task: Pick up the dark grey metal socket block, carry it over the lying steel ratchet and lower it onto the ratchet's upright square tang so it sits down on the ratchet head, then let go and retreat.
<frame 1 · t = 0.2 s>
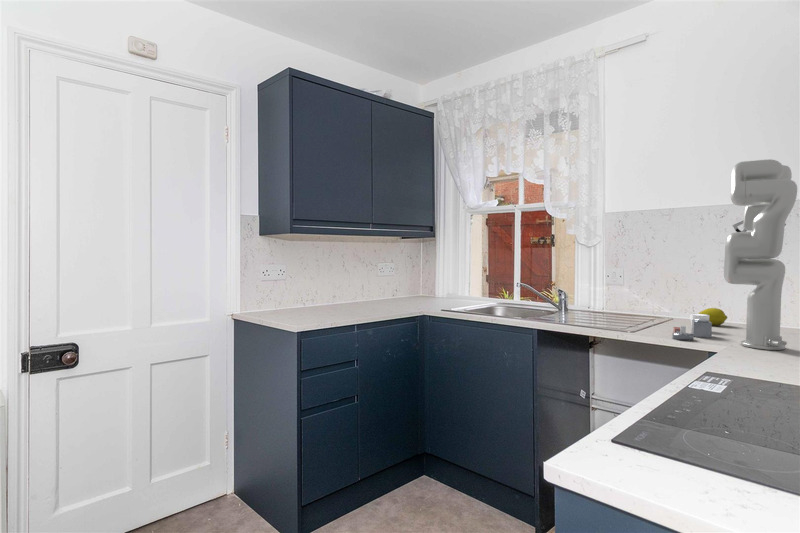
hand: (758, 244, 190), 37 cm above the countertop, tool pointing down, fingers open, 9 cm apart
lemon: (712, 325, 211), on the countertop
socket: (701, 336, 185), on the countertop
shot glass: (699, 331, 197), on the countertop
ratchet: (682, 339, 179), on the countertop
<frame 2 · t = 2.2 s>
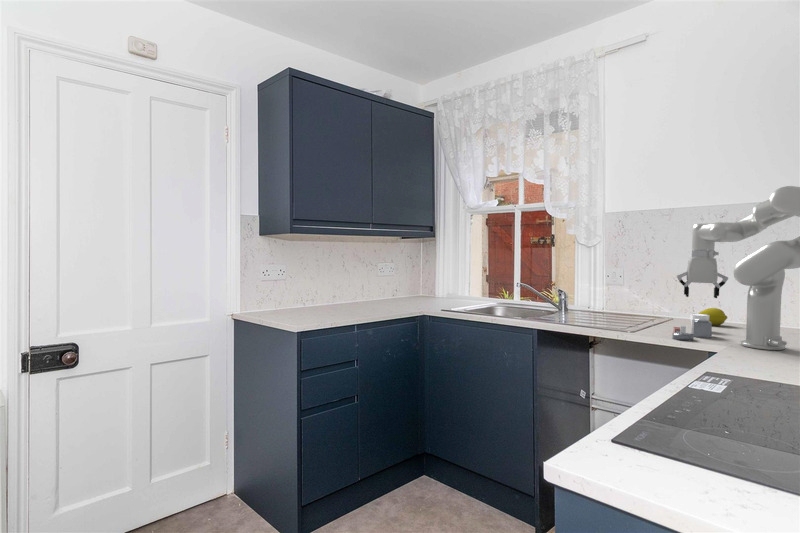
hand: (701, 297, 185), 16 cm above the countertop, tool pointing down, fingers open, 9 cm apart
nothing on the countertop moved.
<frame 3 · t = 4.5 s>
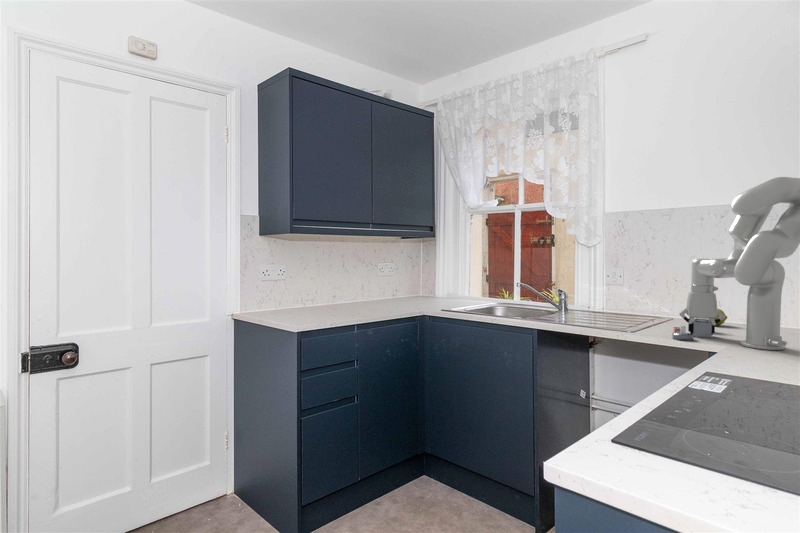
hand: (701, 333, 185), 1 cm above the countertop, tool pointing down, fingers closed on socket, 6 cm apart
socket: (701, 336, 185), on the countertop, touching gripper
everything else where it was.
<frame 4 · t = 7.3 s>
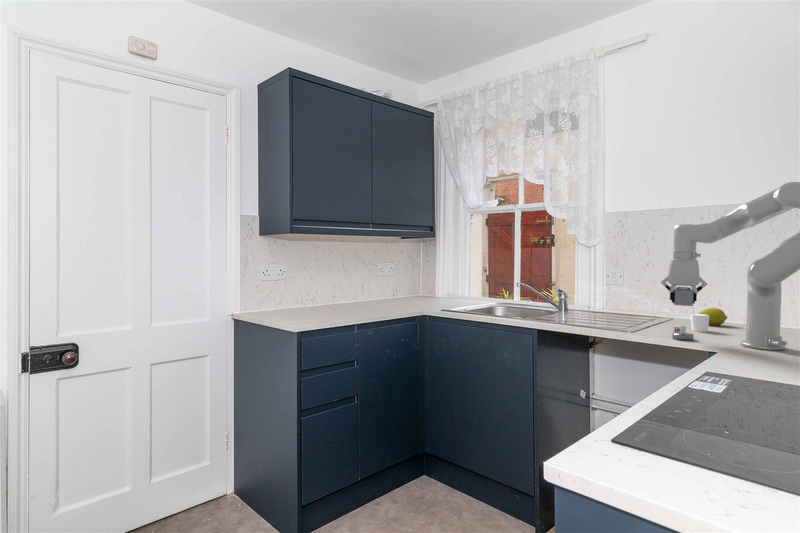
hand: (682, 302, 179), 14 cm above the countertop, tool pointing down, fingers closed on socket, 6 cm apart
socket: (682, 304, 179), point 13 cm above the countertop, touching gripper
everything else where it was.
when the fingers open (4 cm above the countertop, at t = 10.1 s): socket drops 1 cm, resting on ratchet.
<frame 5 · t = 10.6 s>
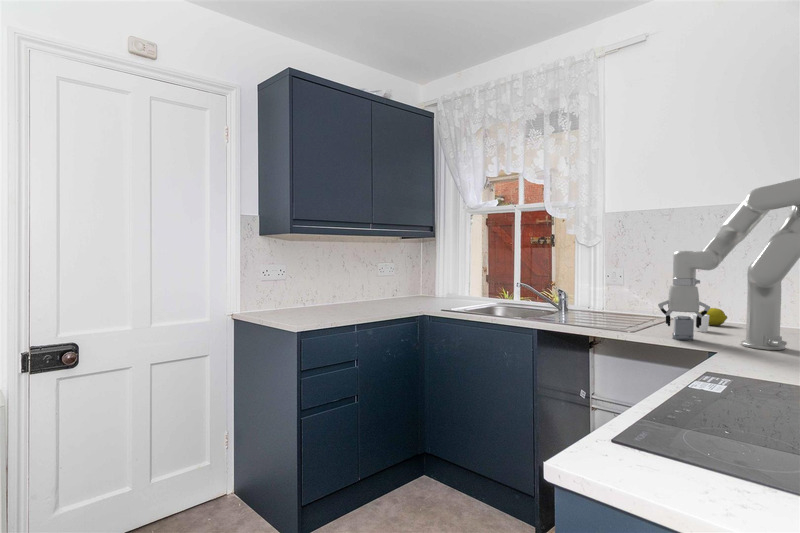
hand: (683, 326, 179), 5 cm above the countertop, tool pointing down, fingers open, 9 cm apart
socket: (683, 333, 179), point 2 cm above the countertop, touching ratchet
everything else where it was.
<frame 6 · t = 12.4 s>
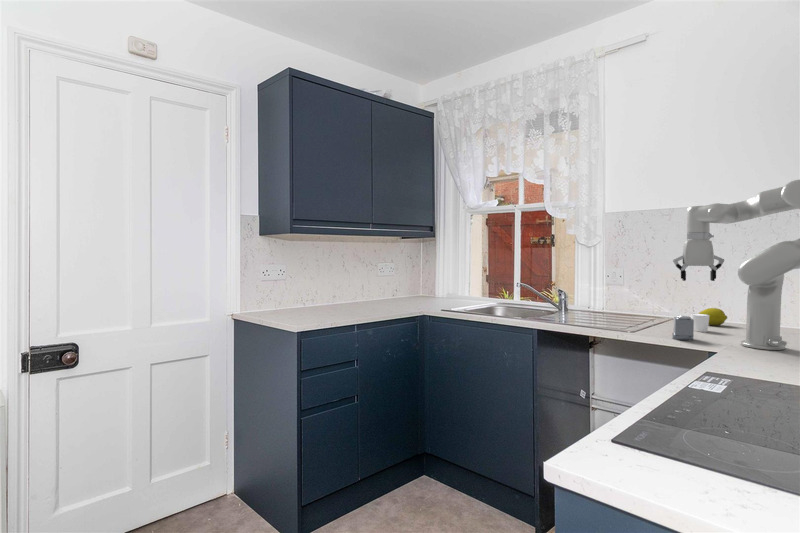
hand: (698, 280, 182), 23 cm above the countertop, tool pointing down, fingers open, 9 cm apart
nothing on the countertop moved.
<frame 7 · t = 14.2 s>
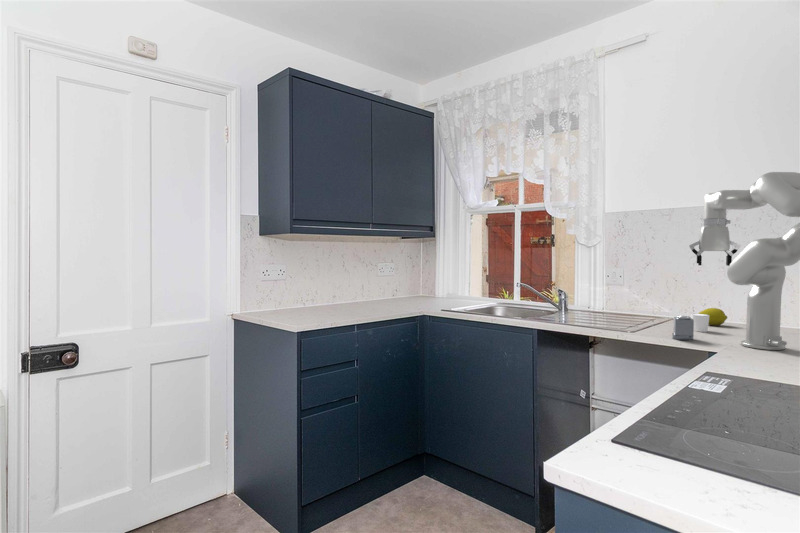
hand: (713, 265, 188), 28 cm above the countertop, tool pointing down, fingers open, 9 cm apart
nothing on the countertop moved.
at the end: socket 0.1 cm off-centre on the ratchet, point 2.0 cm above the ratchet's base; the gripper is holding nothing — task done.
